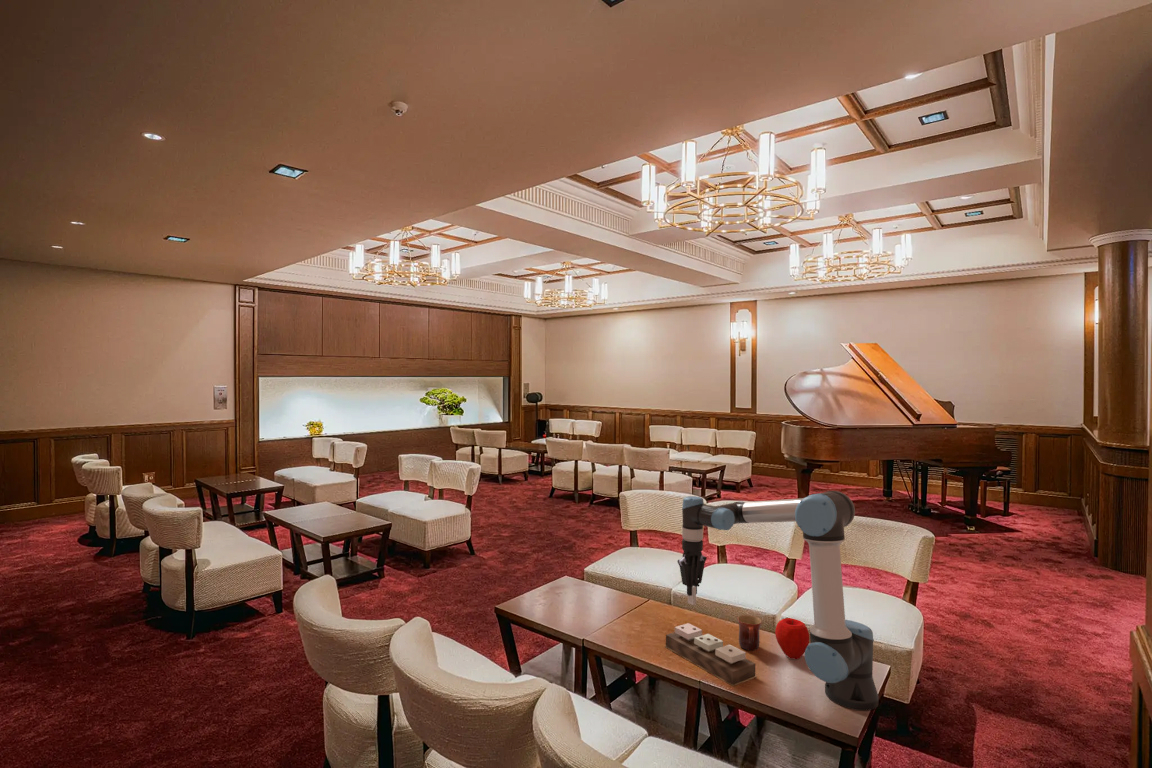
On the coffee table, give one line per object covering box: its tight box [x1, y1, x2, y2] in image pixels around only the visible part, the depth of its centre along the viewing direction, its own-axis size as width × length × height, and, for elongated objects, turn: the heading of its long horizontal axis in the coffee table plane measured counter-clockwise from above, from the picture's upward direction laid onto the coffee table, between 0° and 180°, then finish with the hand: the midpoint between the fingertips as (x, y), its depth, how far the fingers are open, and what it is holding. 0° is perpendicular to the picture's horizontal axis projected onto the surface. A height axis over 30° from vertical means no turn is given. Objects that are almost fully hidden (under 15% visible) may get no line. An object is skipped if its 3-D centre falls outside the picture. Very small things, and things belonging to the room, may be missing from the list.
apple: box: [774, 617, 810, 660], centre depth 204 cm, size 12×12×13 cm
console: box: [664, 631, 757, 687], centre depth 199 cm, size 33×12×4 cm, turn 33°
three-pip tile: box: [694, 633, 724, 652], centre depth 199 cm, size 7×7×7 cm
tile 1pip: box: [715, 643, 747, 664], centre depth 191 cm, size 7×7×7 cm
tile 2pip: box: [674, 622, 703, 641], centre depth 207 cm, size 7×7×7 cm
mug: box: [737, 614, 763, 652], centre depth 209 cm, size 12×9×10 cm
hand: (691, 603), depth 207 cm, fingers closed
